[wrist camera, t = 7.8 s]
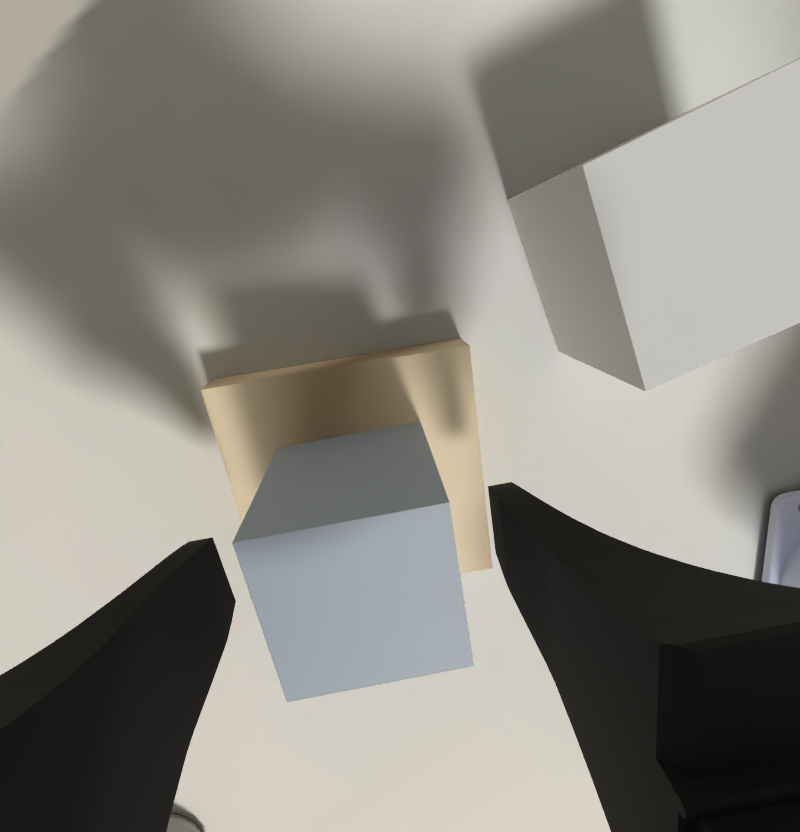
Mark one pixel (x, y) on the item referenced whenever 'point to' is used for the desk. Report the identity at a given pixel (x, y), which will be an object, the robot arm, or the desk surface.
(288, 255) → the desk surface
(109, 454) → the desk surface
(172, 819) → the rook chess piece
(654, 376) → the grey cube
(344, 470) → the slate block
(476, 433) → the maple block
